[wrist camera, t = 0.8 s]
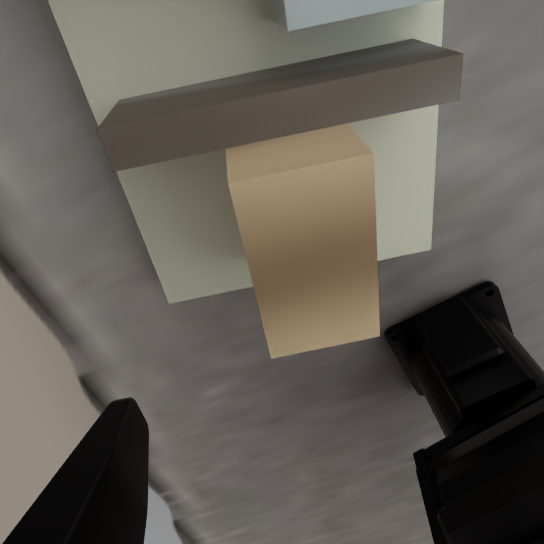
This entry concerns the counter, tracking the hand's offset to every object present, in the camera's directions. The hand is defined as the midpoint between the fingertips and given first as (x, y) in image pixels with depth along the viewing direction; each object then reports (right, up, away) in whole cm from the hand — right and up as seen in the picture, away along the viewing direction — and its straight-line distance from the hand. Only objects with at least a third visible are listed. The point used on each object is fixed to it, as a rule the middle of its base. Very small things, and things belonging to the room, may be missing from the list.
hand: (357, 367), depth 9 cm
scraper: (-1, +5, +8) cm, 10 cm away
